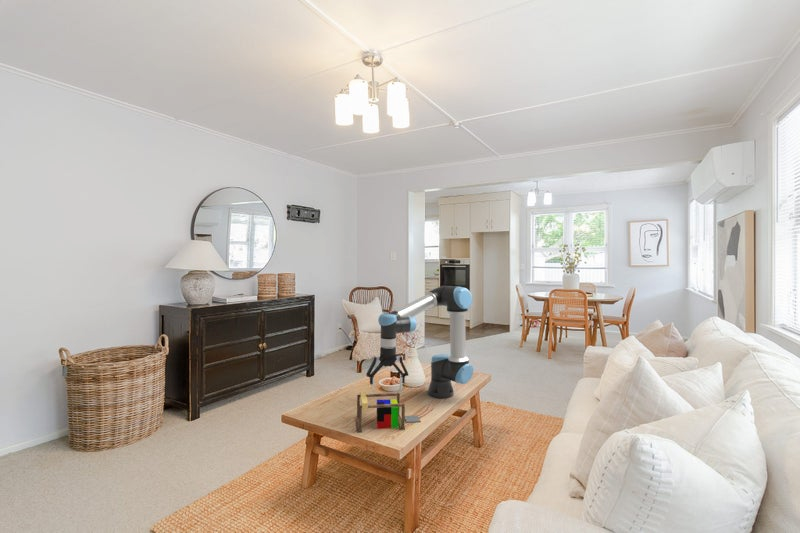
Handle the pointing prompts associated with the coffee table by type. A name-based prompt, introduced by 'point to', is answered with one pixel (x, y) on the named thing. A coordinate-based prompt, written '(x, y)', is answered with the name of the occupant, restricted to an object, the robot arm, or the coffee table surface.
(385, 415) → the puzzle toy
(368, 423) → the coffee table surface
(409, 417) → the pad
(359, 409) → the rack
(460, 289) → the robot arm
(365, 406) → the bar
